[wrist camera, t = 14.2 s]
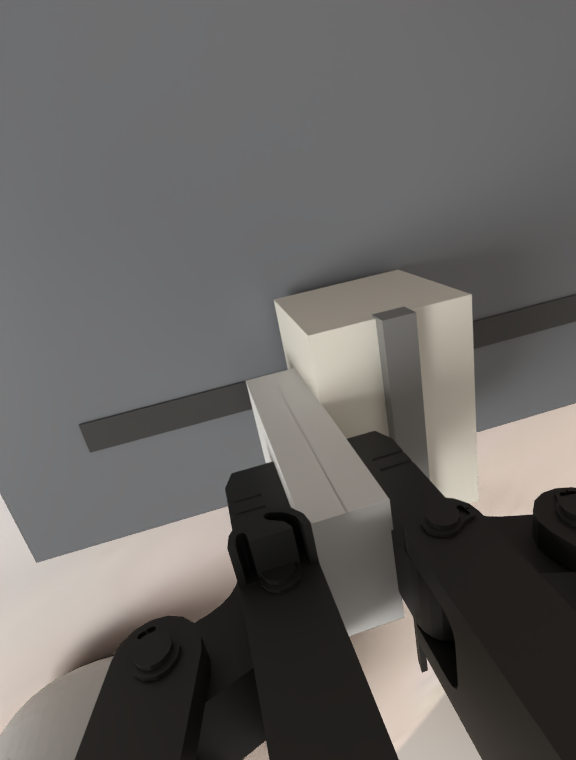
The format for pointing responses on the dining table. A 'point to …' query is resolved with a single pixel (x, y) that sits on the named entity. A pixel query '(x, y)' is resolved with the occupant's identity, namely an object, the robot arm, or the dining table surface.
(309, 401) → the robot arm
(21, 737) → the teacup
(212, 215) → the console
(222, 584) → the dining table surface
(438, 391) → the block
